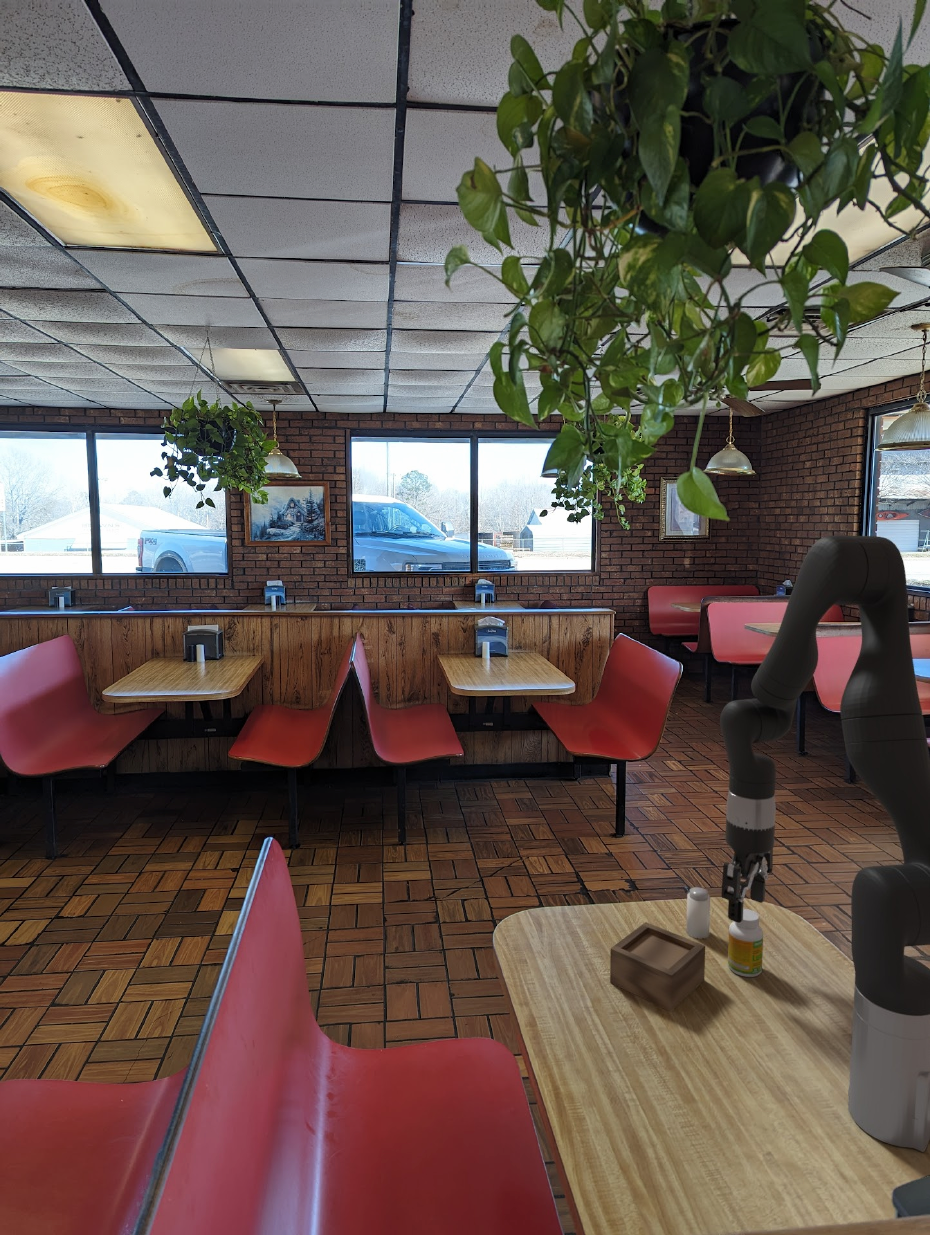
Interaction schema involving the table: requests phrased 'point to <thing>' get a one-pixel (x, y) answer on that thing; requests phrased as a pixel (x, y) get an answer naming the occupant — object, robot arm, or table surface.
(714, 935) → the table surface
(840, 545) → the robot arm
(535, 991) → the table surface
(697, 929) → the sugar shaker
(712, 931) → the table surface
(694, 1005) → the table surface
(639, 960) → the walnut tray
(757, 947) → the supplement bottle
